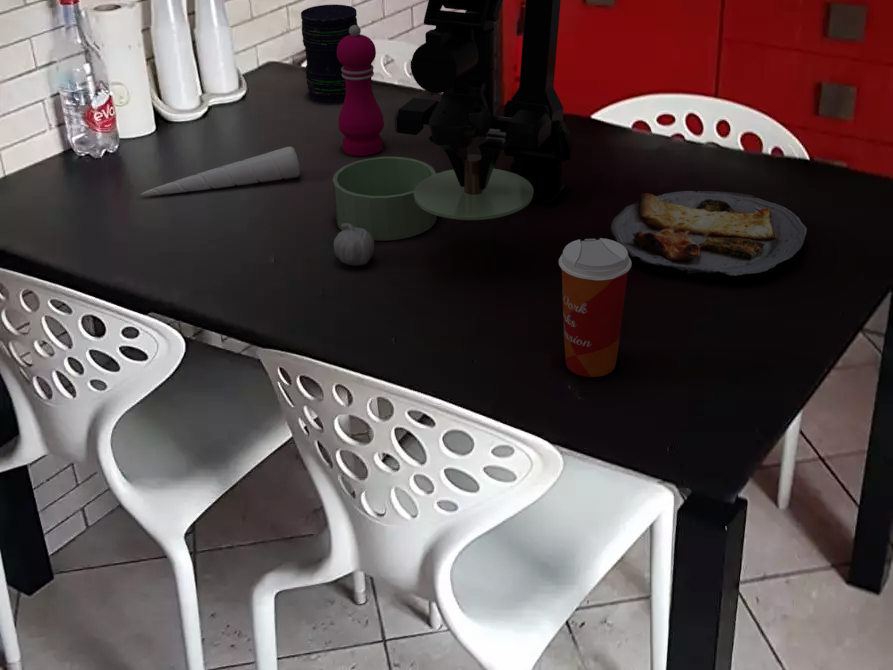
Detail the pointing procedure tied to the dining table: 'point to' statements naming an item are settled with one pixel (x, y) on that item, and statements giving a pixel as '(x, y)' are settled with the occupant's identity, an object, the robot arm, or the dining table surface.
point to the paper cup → (593, 304)
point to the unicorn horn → (238, 173)
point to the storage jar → (325, 50)
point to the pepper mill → (359, 96)
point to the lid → (473, 193)
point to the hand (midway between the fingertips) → (473, 187)
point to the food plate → (709, 232)
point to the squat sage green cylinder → (382, 197)
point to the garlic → (354, 245)
